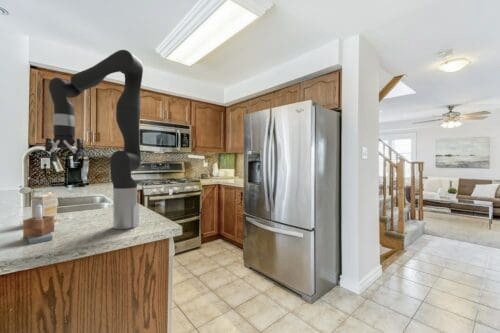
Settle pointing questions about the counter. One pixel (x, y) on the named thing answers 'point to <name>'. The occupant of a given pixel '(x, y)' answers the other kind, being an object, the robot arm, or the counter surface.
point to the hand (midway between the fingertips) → (64, 161)
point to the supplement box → (45, 205)
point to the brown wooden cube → (38, 226)
